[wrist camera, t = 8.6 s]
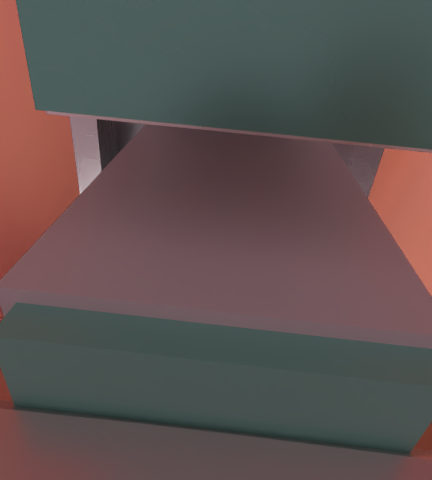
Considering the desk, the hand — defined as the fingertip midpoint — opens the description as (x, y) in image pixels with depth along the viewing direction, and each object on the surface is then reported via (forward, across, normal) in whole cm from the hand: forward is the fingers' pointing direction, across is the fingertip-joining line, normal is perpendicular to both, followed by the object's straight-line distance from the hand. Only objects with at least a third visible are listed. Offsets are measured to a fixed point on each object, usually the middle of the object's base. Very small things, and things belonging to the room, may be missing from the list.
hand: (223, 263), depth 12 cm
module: (+2, 0, 0) cm, 2 cm away
